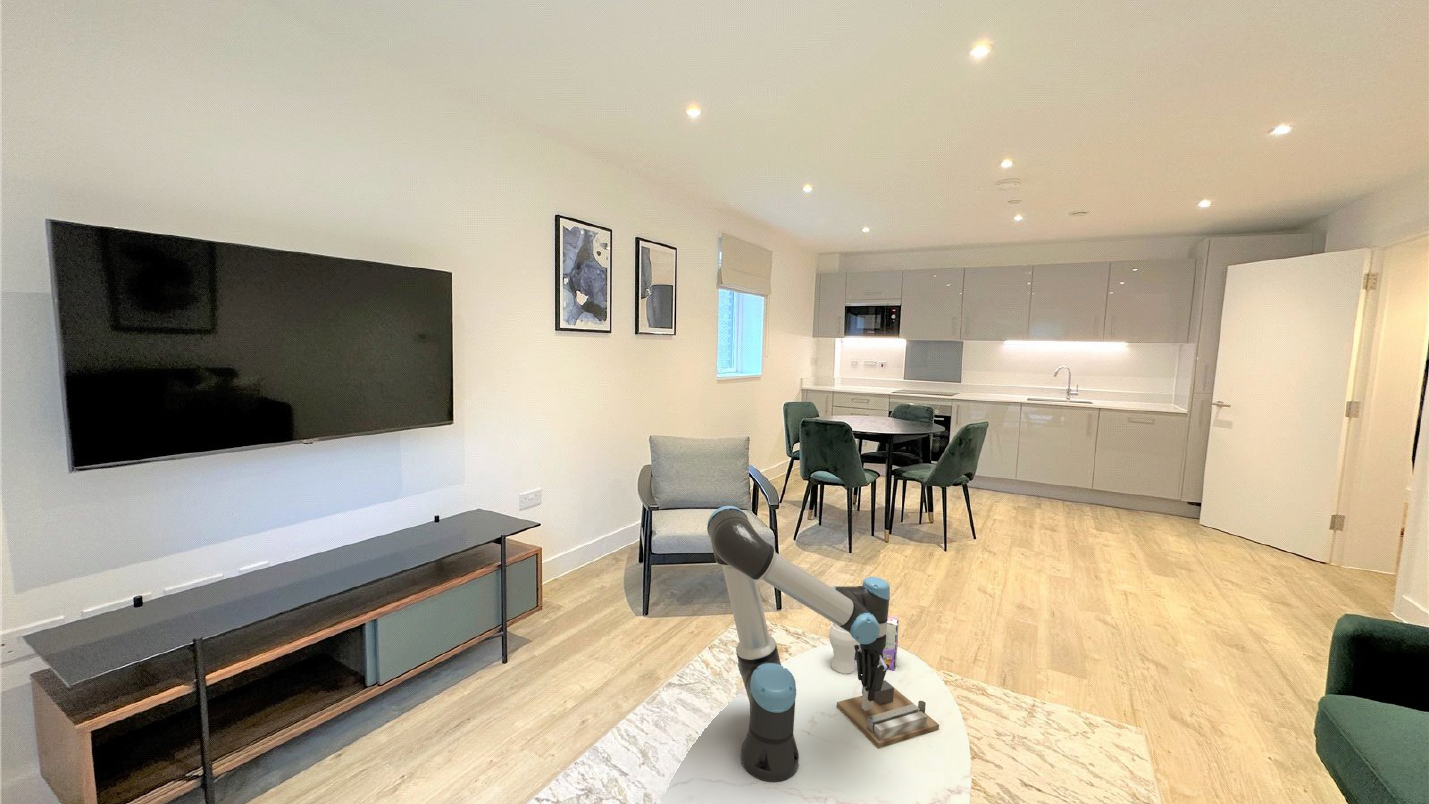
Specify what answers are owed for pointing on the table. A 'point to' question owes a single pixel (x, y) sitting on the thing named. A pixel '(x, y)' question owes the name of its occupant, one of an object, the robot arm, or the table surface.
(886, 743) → the board
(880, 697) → the dark grey block
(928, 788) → the table surface
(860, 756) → the table surface
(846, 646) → the cup
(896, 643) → the candy box
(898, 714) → the bar
